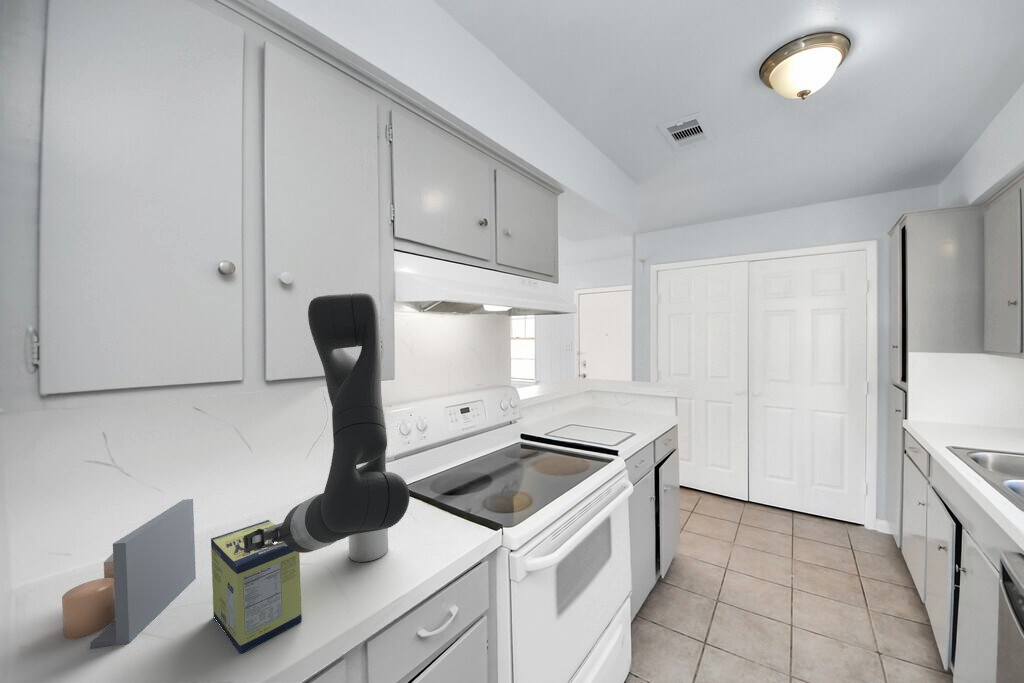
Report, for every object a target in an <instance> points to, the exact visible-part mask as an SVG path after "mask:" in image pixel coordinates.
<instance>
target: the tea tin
mask: <svg viewBox="0 0 1024 683" xmlns="http://www.w3.org/2000/svg"><path fill="white" fill-rule="evenodd" d="M103 578H113V579H114V563H113V553H111V554H110V555H109V556H108V557H107V559H106V560H105V561H103Z"/></svg>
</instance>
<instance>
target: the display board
mask: <svg viewBox="0 0 1024 683" xmlns="http://www.w3.org/2000/svg"><path fill="white" fill-rule="evenodd" d="M194 516H195V515H194V499H193V498H189V499H182V500H181V501H179V502H177V503H176V504H174V505H173V506H171V507H169V508H168V509H166V510H165V511H163V512H161V513H159V514H158V515H156V516H155V517H153V518H152V519H150V520H148V521H147V522H144V524H142V525H141V526H139V527H138V528H136V529H134V530H132V531H131V532H130V533H128V534H126V535H124V536H123V537H121V538H120V539H118V540H116V541H115V542H113V543H112V554H113V563H114V590H115V617H116V619H115V620H114V621H113V622H112V623H111V624H110V625H108V626H107V627H105V628H106V629H105V628H104V630H103V631H101V633H99V634H98V635H97V636H96V637H95V638H93V640H92V641H90V642H89V647H90V648H89V649H96V648H103V647H109V646H117V645H118V646H119V645H125V644H131V642H133V640H134V639H136V637H138V635H139V634H140V633H142V632H143V631H144V630H145V628H147V627H148V625H150V624H151V623H152V622H153V620H155V619H156V618H157V617H158V616H159V615H160V614H161V613H162V612H163V611H164V610H165V609H166V608H167V607H169V605H170V604H171V603H172V602H173V601H174V600H175V599H177V597H178V596H179V595H180V594H181V593H182V592H183V591H184V590H185V589H187V588H188V586H190V584H192V582H193V581H195V580H196V578H197V577H196V575H197V573H196V547H195V542H196V541H195V519H194V518H195V517H194ZM155 617H156V618H155ZM151 621H152V622H151ZM150 622H151V623H150Z"/></svg>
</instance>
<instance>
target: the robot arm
mask: <svg viewBox="0 0 1024 683" xmlns="http://www.w3.org/2000/svg"><path fill="white" fill-rule="evenodd" d="M307 318H308V326H309V330H310V333H311V336H312V340H313V342H314V345H315V348H316V350H317V353H318V356H319V358H320V362H321V364H322V367H323V371H324V378H325V382H326V388H327V393H328V397H329V401H330V404H331V407H332V408H331V409H332V411H331V418H332V422H331V423H332V425H331V426H332V438H333V440H332V441H333V449H332V457H331V463H330V467H329V472H328V476H327V481H326V484H325V488H324V490H323V493H319V494H316V495H314V496H311V497H310V498H308V499H306V500H305V501H303V502H301V503H299V504H297V505H296V506H294V507H293V508H292V509H290V511H289V512H288V513H287V515H286V516H285V517H284V520H283V521H282V522H280V523H276V524H275V525H273V526H270V527H268V529H267V530H266V531H264V529H257V530H256V531H254V532H252V533H249V534H247V535H245V536H244V553H246V552H247V553H249V552H250V551H253V550H254V551H257V550H262V549H263V548H266V547H268V549H274V548H278V547H281V546H288V547H289V548H290V549H292V550H293V551H296V552H299V554H301V553H302V554H304V553H305V554H306V553H312V552H314V551H317V550H320V549H323V548H326V547H329V546H331V545H333V544H335V543H336V542H338V541H342V540H343V539H346V538H348V556H349V559H350V560H352V561H353V562H358V563H363V562H371V561H375V560H377V559H379V558H382V557H383V556H384V555H385V554H387V553H388V551H389V529H390V528H391V527H393V526H395V525H396V524H398V523H399V522H400V521H401V520H402V519H403V517H404V516H405V514H406V512H407V510H408V508H409V504H410V495H411V494H410V489H409V487H408V484H407V482H406V481H405V479H404V478H403V477H402V476H401V475H400V474H398V473H395V472H391V471H387V468H386V466H387V465H386V462H387V461H386V456H387V455H386V453H387V452H386V451H387V447H388V437H387V428H386V422H385V413H384V409H383V398H382V342H381V341H382V339H381V337H382V336H381V320H380V313H379V308H378V304H377V301H376V300H375V297H373V296H372V295H371V294H369V293H361V292H358V293H357V292H356V293H355V292H354V293H341V294H340V293H339V294H326V295H322V296H317V297H316V296H315V297H313V298H312V299H311V301H310V302H309V305H308V308H307ZM356 347H361V349H360V354H359V356H358V358H356V357H355V356H353V355H352V354H351V353H349V352H348V351H346V350H345V349H347V348H348V349H349V348H356ZM362 464H364V465H362ZM358 465H361V466H360V467H357V466H358ZM267 540H268V543H267V544H265V541H267ZM278 542H282V543H278Z"/></svg>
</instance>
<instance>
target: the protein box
mask: <svg viewBox="0 0 1024 683" xmlns="http://www.w3.org/2000/svg"><path fill="white" fill-rule="evenodd" d="M273 525H276V524H275V523H274V522H272V521H271V520H270V519H267V520H264V521H260V522H257V523H254V524H251V525H248V526H245V527H242V528H239V529H236V530H233V531H231V532H228V533H223V534H220V535H218V536H215V537H211V538H210V550H211V551H210V552H211V554H210V555H211V580H212V582H211V584H212V604H213V605H212V606H213V608H212V609H213V618H214V617H215V619H216V620H217V621H216V620H215V619H214V620H215V621H216V623H217V622H218V623H219V624H220V625H219V624H218V623H217V624H218V625H219V627H220V626H221V627H222V628H221V627H220V628H221V630H222V629H223V630H224V631H225V632H224V631H223V630H222V631H223V632H224V634H225V633H226V634H225V635H226V637H227V636H228V637H227V638H228V640H230V642H231V644H232V645H233V646H234V647H235V649H236V651H237V652H238V653H239V654H243V653H245V652H247V651H249V650H251V649H253V648H255V647H256V646H258V645H260V644H262V643H264V642H266V641H268V640H270V639H272V638H273V637H275V636H277V635H279V634H280V633H282V632H285V631H286V630H288V629H291V628H292V627H294V626H295V625H297V624H299V623H302V621H303V616H302V613H303V612H302V592H301V591H302V588H301V585H302V584H301V562H300V556H301V555H300V553H299V552H296V551H293V550H292V549H290V548H289V547H288V546H281V547H278V548H274V549H268V547H266V548H263V549H262V550H257V551H254V550H253V551H250V552H249V553H247V552H246V553H244V536H245V535H247V534H249V533H252V532H254V531H256V530H257V529H264V531H266V530H267V529H268V527H270V526H273ZM267 543H268V540H267V541H265V544H267ZM278 543H282V542H278Z"/></svg>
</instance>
